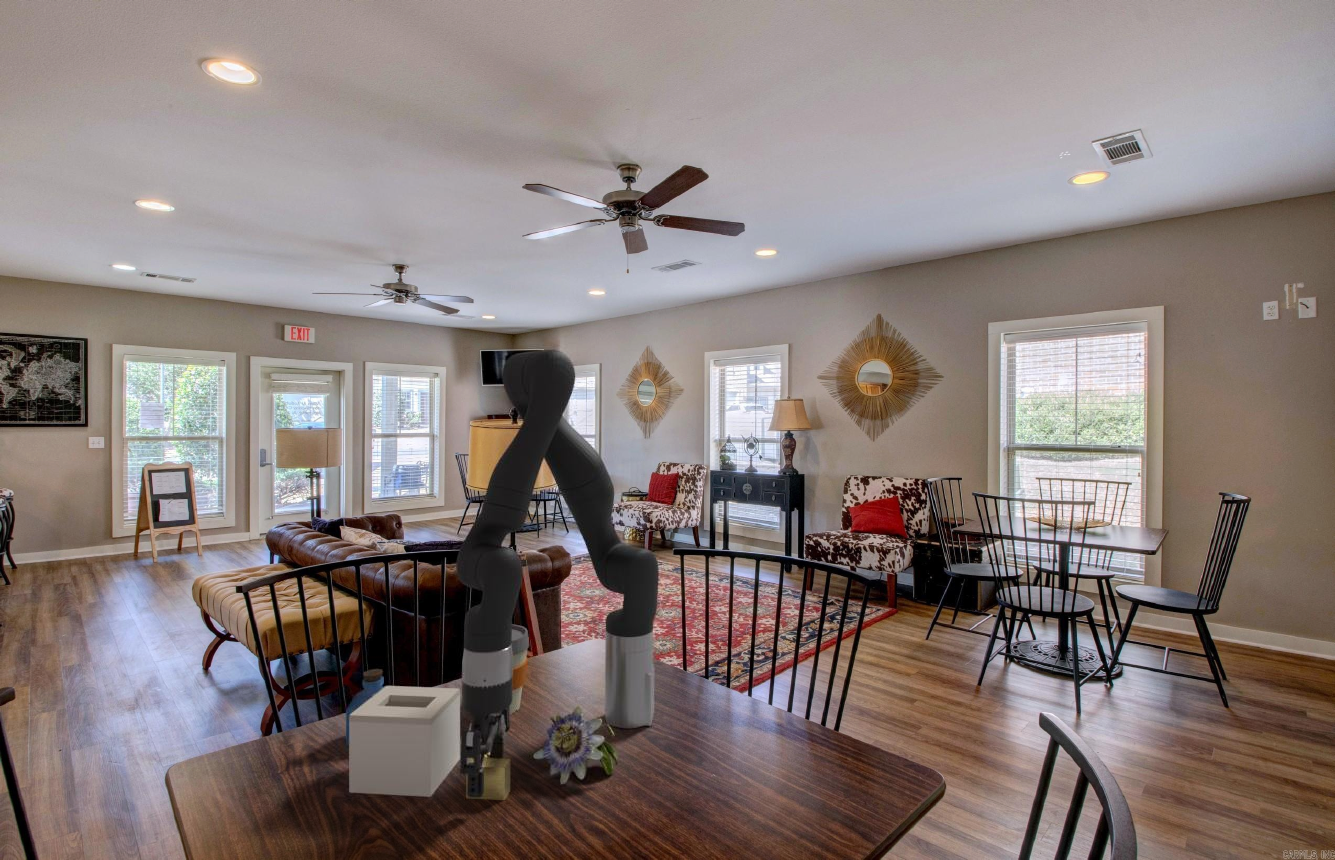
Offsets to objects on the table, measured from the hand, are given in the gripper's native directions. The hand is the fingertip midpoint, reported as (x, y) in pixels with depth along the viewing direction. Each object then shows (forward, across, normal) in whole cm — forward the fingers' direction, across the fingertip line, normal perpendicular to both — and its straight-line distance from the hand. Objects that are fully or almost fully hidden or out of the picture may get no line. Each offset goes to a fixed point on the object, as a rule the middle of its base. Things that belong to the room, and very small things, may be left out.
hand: (486, 780), depth 98 cm
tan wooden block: (+2, 0, 0) cm, 2 cm away
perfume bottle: (+3, +15, +27) cm, 31 cm away
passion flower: (+2, +8, -12) cm, 15 cm away
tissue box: (+2, +4, +15) cm, 16 cm away
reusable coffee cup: (+2, +29, +9) cm, 31 cm away
